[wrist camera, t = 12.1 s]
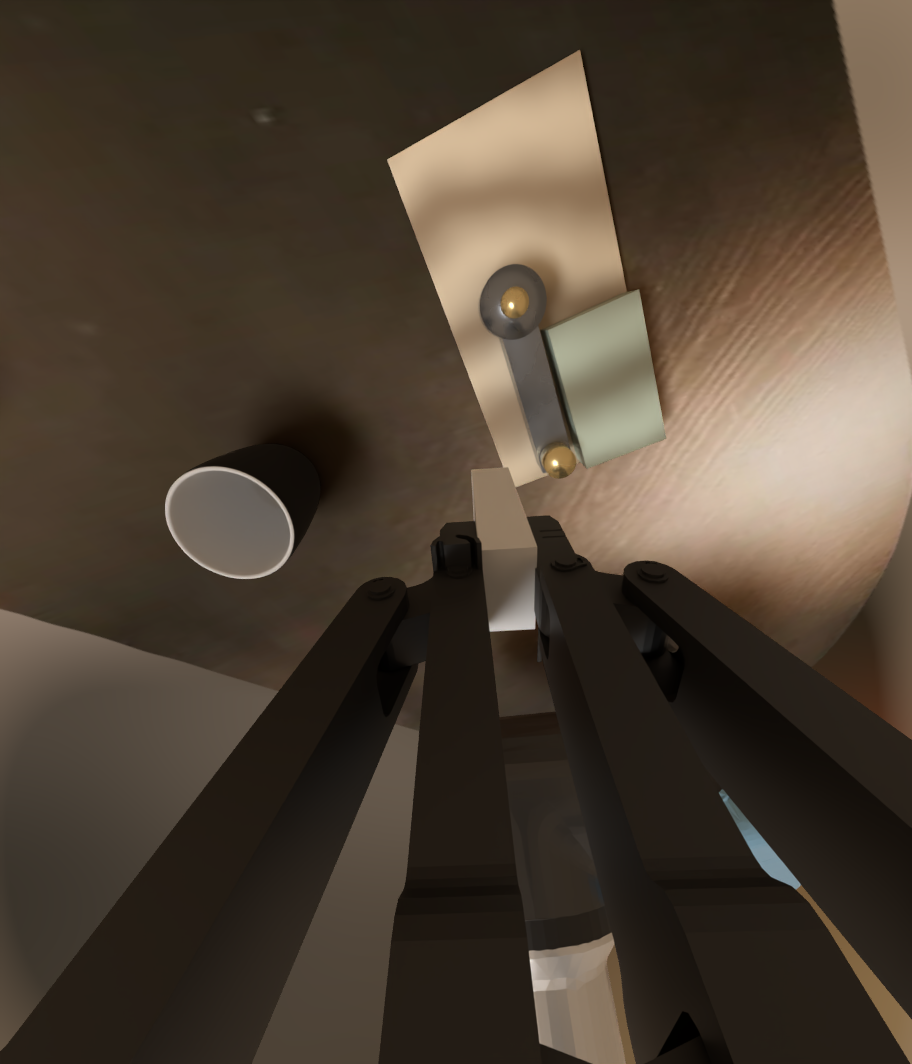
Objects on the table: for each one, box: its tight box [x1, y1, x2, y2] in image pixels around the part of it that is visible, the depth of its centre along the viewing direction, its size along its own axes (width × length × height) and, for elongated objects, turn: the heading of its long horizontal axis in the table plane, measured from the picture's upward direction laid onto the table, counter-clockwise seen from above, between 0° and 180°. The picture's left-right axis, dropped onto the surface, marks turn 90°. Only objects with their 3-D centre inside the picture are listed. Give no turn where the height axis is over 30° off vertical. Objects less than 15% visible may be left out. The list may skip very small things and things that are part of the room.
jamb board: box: [387, 50, 666, 487], centre depth 29 cm, size 25×13×4 cm, turn 23°
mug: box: [165, 444, 320, 579], centre depth 33 cm, size 12×9×10 cm
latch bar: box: [478, 264, 576, 479], centre depth 30 cm, size 15×4×5 cm, turn 21°
